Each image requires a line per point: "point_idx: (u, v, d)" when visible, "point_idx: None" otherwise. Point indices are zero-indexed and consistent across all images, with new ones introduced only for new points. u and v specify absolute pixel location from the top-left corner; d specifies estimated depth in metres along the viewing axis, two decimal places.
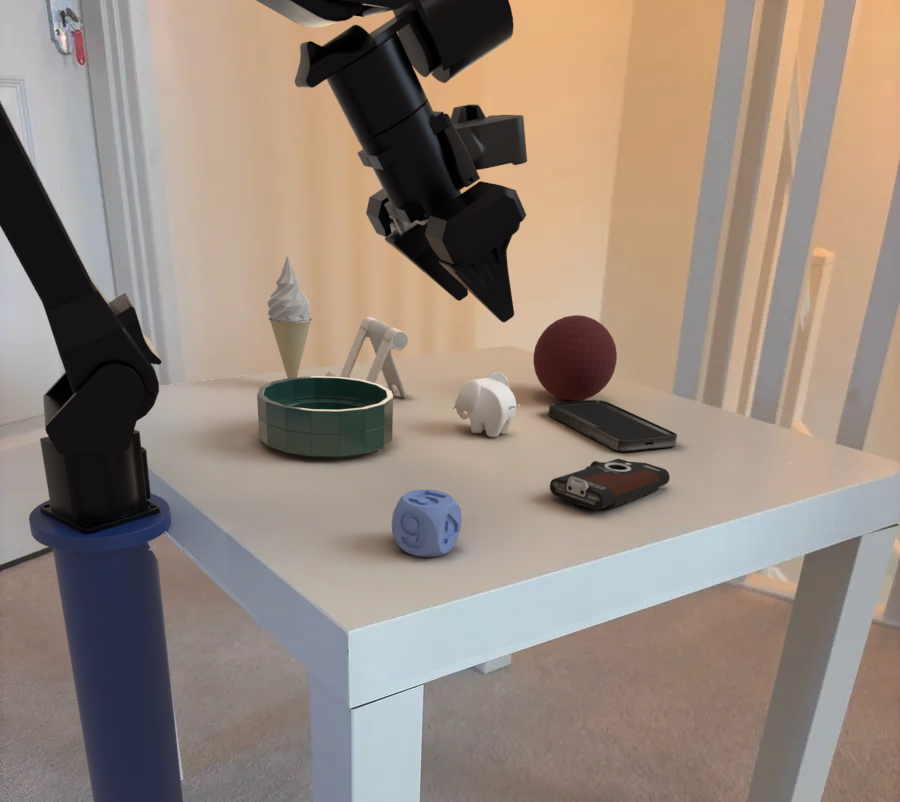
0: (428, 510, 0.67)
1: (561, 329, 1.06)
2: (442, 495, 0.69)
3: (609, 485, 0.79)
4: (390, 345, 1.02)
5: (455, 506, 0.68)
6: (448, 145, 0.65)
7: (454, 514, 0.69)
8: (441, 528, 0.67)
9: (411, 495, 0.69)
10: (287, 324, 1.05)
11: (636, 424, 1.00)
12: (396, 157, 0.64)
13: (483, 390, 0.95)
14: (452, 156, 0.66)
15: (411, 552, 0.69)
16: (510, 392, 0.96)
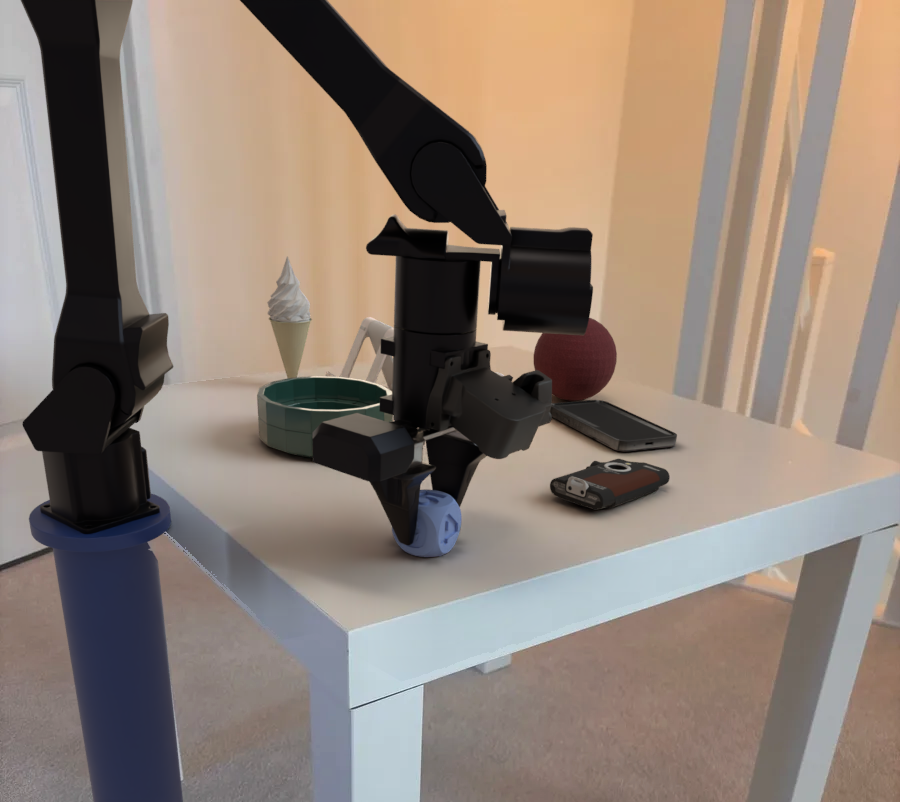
0: (429, 510, 0.67)
1: None
2: (442, 495, 0.69)
3: (609, 485, 0.79)
4: None
5: (455, 506, 0.68)
6: None
7: (454, 514, 0.69)
8: (441, 528, 0.67)
9: None
10: (287, 324, 1.05)
11: (636, 424, 1.00)
12: (394, 353, 0.63)
13: None
14: None
15: (411, 552, 0.69)
16: None
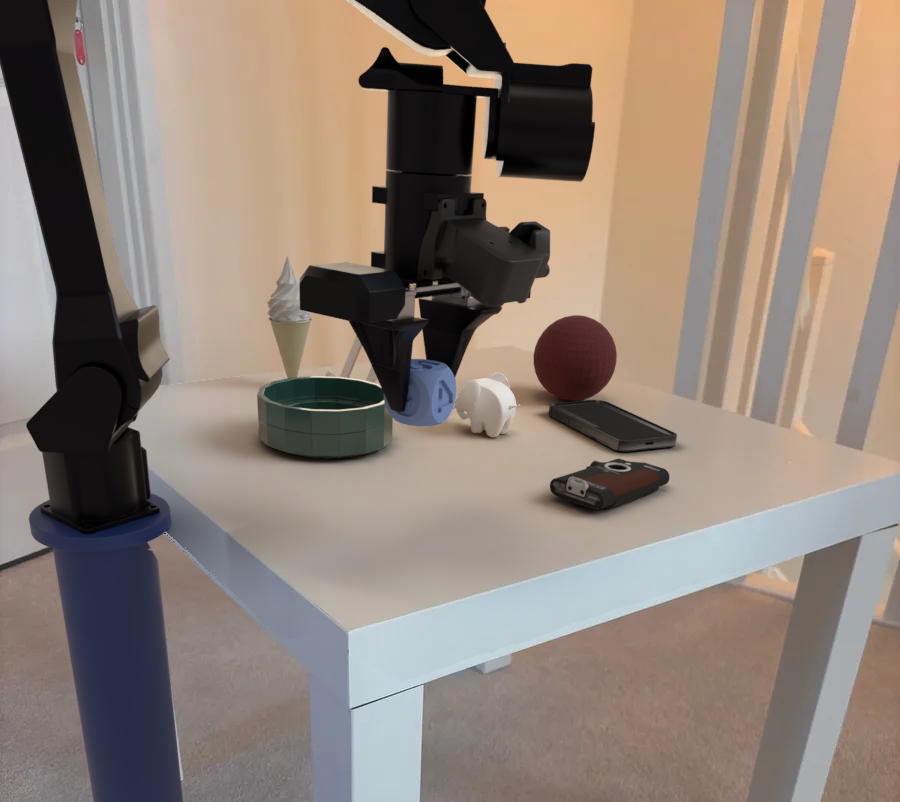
0: (421, 374, 0.64)
1: (561, 329, 1.06)
2: (437, 363, 0.67)
3: (609, 485, 0.79)
4: None
5: (449, 373, 0.66)
6: None
7: (448, 382, 0.66)
8: (435, 393, 0.65)
9: None
10: (287, 324, 1.05)
11: (636, 424, 1.00)
12: (385, 201, 0.60)
13: (483, 390, 0.95)
14: None
15: (403, 421, 0.66)
16: (510, 392, 0.96)
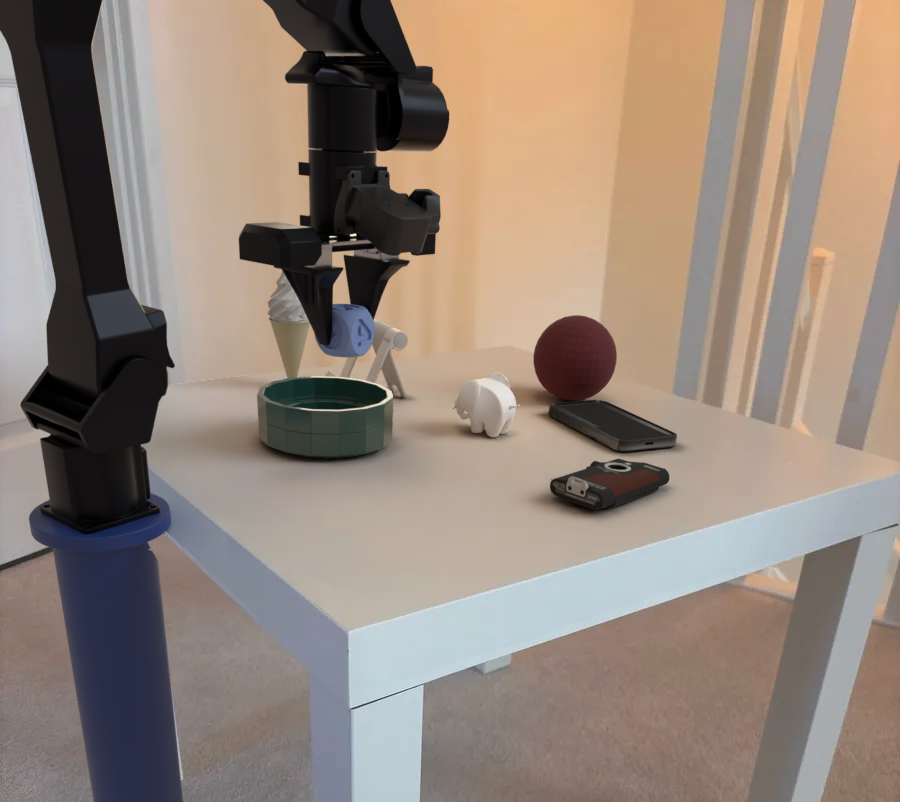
0: (343, 313, 0.80)
1: (561, 329, 1.06)
2: (358, 307, 0.82)
3: (609, 485, 0.79)
4: (390, 345, 1.02)
5: (367, 314, 0.82)
6: None
7: (366, 321, 0.82)
8: (354, 329, 0.80)
9: None
10: (287, 324, 1.05)
11: (636, 424, 1.00)
12: (308, 173, 0.76)
13: (483, 390, 0.95)
14: None
15: (330, 353, 0.82)
16: (510, 392, 0.96)
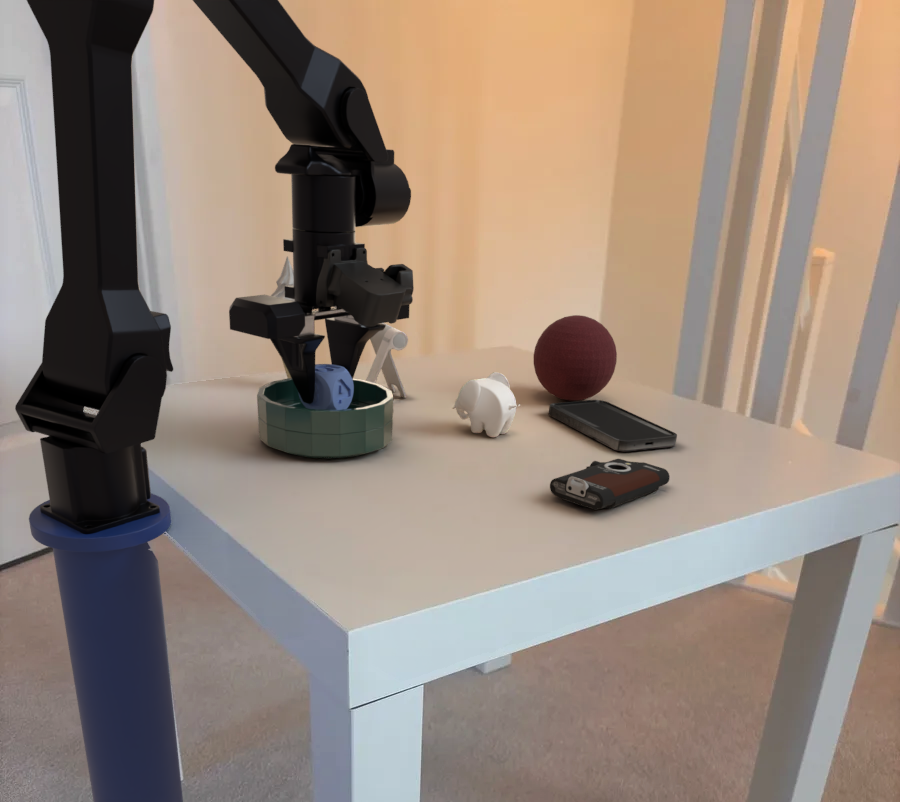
0: (324, 375, 0.87)
1: (561, 329, 1.06)
2: (338, 367, 0.90)
3: (609, 485, 0.79)
4: (390, 345, 1.02)
5: (347, 374, 0.89)
6: None
7: (346, 381, 0.89)
8: (334, 389, 0.88)
9: None
10: None
11: (636, 424, 1.00)
12: (293, 250, 0.83)
13: (483, 390, 0.95)
14: None
15: None
16: (510, 392, 0.96)
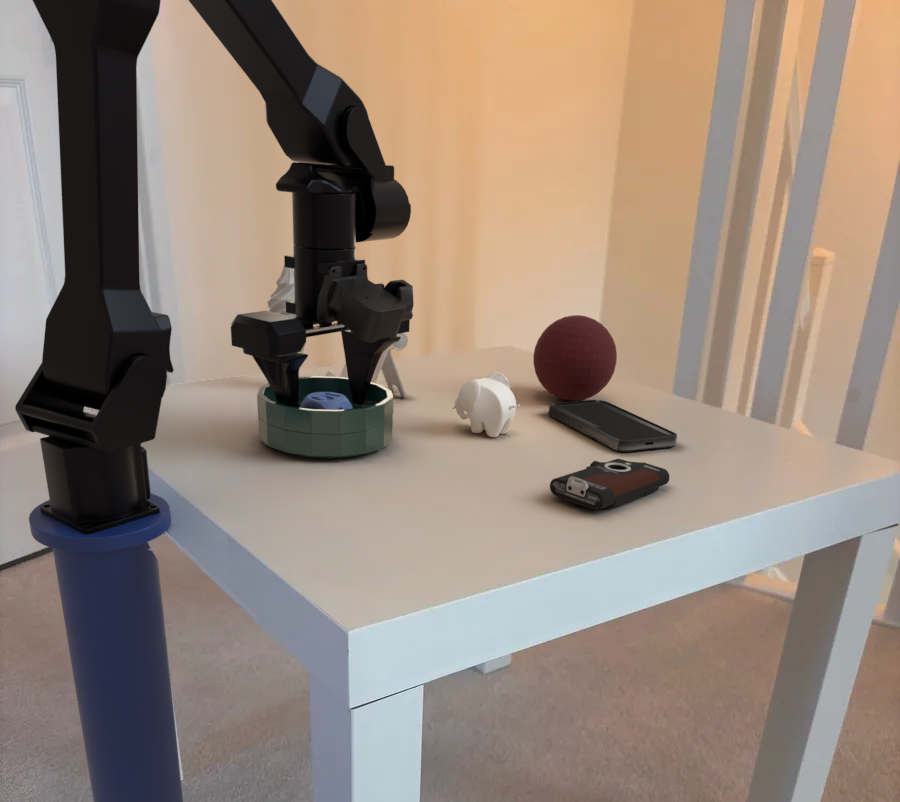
0: (324, 404, 0.88)
1: (561, 329, 1.06)
2: (338, 395, 0.91)
3: (609, 485, 0.79)
4: None
5: (347, 402, 0.90)
6: None
7: None
8: None
9: (314, 395, 0.91)
10: None
11: (636, 424, 1.00)
12: (293, 266, 0.84)
13: (483, 390, 0.95)
14: None
15: None
16: (510, 392, 0.96)
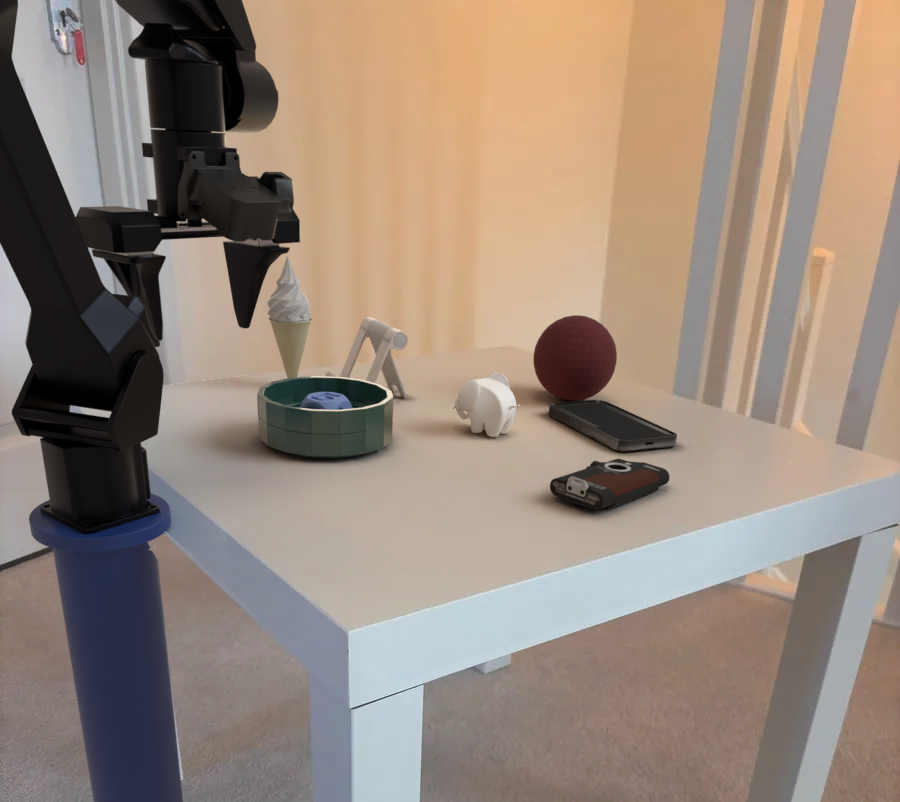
0: (324, 404, 0.88)
1: (561, 329, 1.06)
2: (338, 395, 0.91)
3: (609, 485, 0.79)
4: (390, 345, 1.02)
5: (347, 402, 0.90)
6: None
7: None
8: None
9: (314, 395, 0.91)
10: (287, 324, 1.05)
11: (636, 424, 1.00)
12: (152, 154, 0.72)
13: (483, 390, 0.95)
14: None
15: None
16: (510, 392, 0.96)
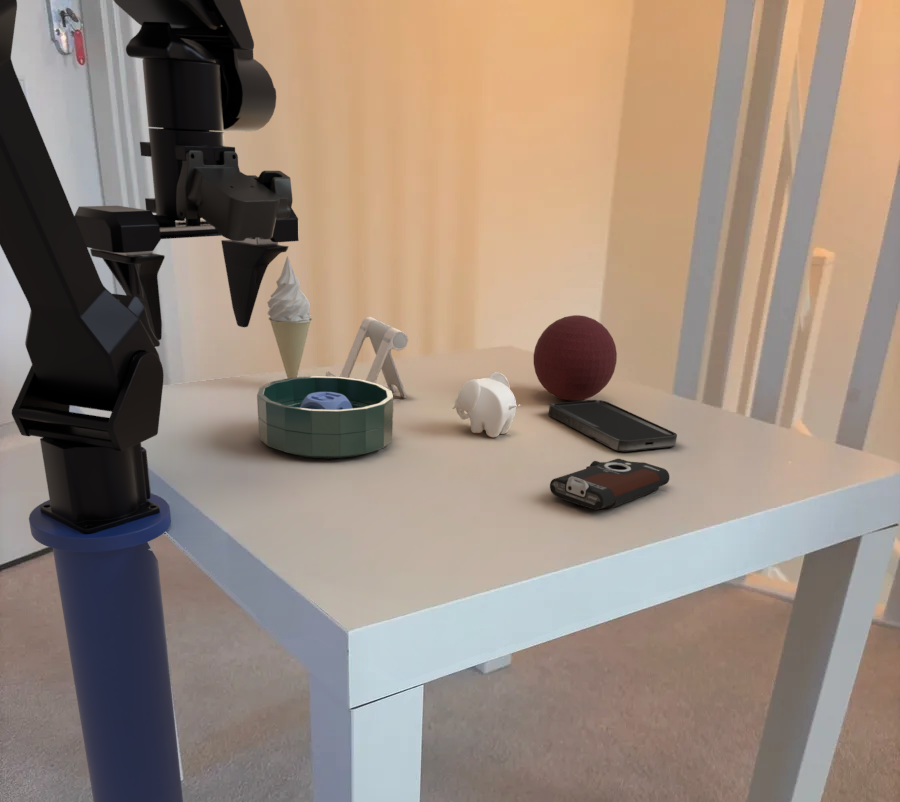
0: (324, 404, 0.88)
1: (561, 329, 1.06)
2: (338, 395, 0.91)
3: (609, 485, 0.79)
4: (390, 345, 1.02)
5: (347, 402, 0.90)
6: None
7: None
8: None
9: (314, 395, 0.91)
10: (287, 324, 1.05)
11: (636, 424, 1.00)
12: (150, 154, 0.72)
13: (483, 390, 0.95)
14: None
15: None
16: (510, 392, 0.96)
